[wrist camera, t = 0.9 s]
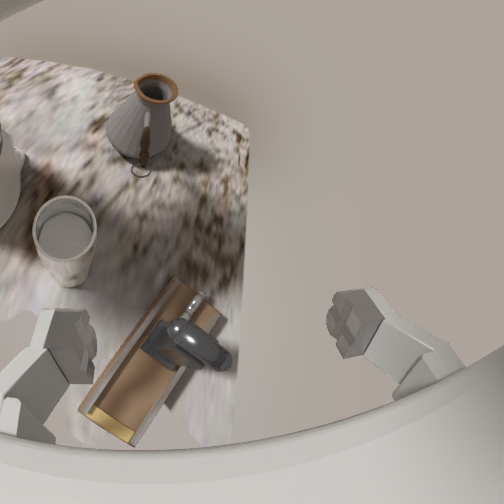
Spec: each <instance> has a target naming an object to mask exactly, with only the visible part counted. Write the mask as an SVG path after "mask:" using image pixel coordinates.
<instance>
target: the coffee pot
mask: <svg viewBox="0 0 504 504" xmlns="http://www.w3.org/2000/svg"><path fill="white" fill-rule="evenodd" d="M134 87H135V90H136V92H135V93H134V94H133V95H132V96H131V97H129V98H128V99H127V100H126V101H125V102H124V103H123V104H122V105H120V106H119V107H118V108H117V109H116V110H115V111H114V112H113V113H112V114H111V115H110V117H109V119H108V121H107V127H106V131H107V136H108V139H109V141H110V142H111V144H112V146H113V147H114V148H115V149H116V150H117V151H118V152H120V153H122V154H123V155H125V156H128V157H132V158H140V164H135V165H133V167H134V166H137V165H141V167H142V168H145V167H148V168H149V169H150V173H151V168H150V167H149V166H148V165H147V162H148V159H147V158H149V157H151V156H154V155H156V154H159V153H160V152H161V151H163V150H164V149H165V148H166V147H167V145H168V144H169V143H170V140H171V136H172V126H171V115H170V104H169V103H170V102H172V101H173V100H174V99H175V98H176V97H177V95H178V88H177V85H176V84H175V83H174V81H172V80H171V79H170V78H168V77H167V76H164V75H162V74H156V73H149V74H145V75H143V76H141V77H140V78H138V79H137V80H136V81H135V82H134ZM133 167H132V168H131V173H132V174H133V175H134V176H136V177H138V178H144V177H147V176H149V175H150V173H149V174H148V175H146V176H138V175H135V174H134V173H133V172H132V169H133Z"/></svg>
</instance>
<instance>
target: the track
mask: <svg viewBox="0 0 504 504" xmlns="http://www.w3.org/2000/svg"><path fill="white" fill-rule="evenodd" d="M195 294H196V293H195V292H194V291H193V290H191V289H190V288H189V287H188V286H187V285H185V284H184V283H183V282H182V281H181V280H180V279H178V278H177V277H176V276H173V277H172V278H171V279H170V281H169V282H168V283H167V285H166V286H165V287H164V289H163V290H162V291H161V292H160V294H159V295H158V296H157V298H156V299H155V300H154V302H153V303H152V304H151V306H150V307H149V308H148V310H147V311H146V312H145V314H144V315H143V316H142V318H141V319H140V321H139V322H138V323H137V325H136V326H135V327H134V329H133V330H132V331H131V333H130V334H129V336H128V337H127V338H126V340H125V341H124V343H123V344H122V345H121V347H120V348H119V349H118V351H117V352H116V354H115V355H114V357H113V358H112V359H111V361H110V362H109V364H108V365H107V366H106V368H105V369H104V371H103V372H102V374H101V375H100V377H99V378H98V379H97V381H96V382H95V384H94V385H93V387H92V388H91V390H90V391H89V393H88V394H87V396H86V397H85V399H84V400H83V402H82V403H81V405H80V406H79V408H78V412H80V413H81V414H83V415H84V416H85V417H87V418H88V419H90V420H91V421H93V422H94V423H95V424H97V425H98V426H100V427H101V428H103V429H105V430H106V431H108V432H109V433H111V434H112V435H114V436H116V437H118V438H119V439H121V440H122V441H124V442H126V443H127V444H129V445H131V446H132V447H135V446H136V444H137V443H138V441H139V440H140V438H141V437H142V435H143V434H144V432H145V431H146V429H147V428H148V426H149V424H150V423H151V422H152V420H153V419H154V417H155V416H156V414H157V412H158V411H159V409H160V408H161V406H162V405H163V403H164V402H165V400H166V399H167V397H168V396H169V394H170V393H171V391H172V390H173V388H174V387H175V385H176V383H177V382H178V380H179V379H180V377H181V376H182V374H183V373H184V371H185V370H186V368H187V367H185V366H180V365H175V367H174V368H173V370H172V371H170V370H168V369H167V368H165V367H164V366H163V365H161V364H160V363H158V362H157V361H156V360H154V359H153V358H152V357H150V356H149V355H148V354H146V353H145V352H144V351H142V350H141V349H140V347H141V346H142V344H143V343H144V341H145V340H146V339H147V337H148V336H149V334H150V333H151V332H152V330H153V329H154V327H155V326H156V325H157V323H158V322H159V320H160V319H163V320H164V321H166V322H167V323H168V324H169V322H170V321H171V320H173V319H174V318H179V316H180V315H181V313H182V312H183V311H184V309H186V307H187V305H188V303H189V302H190V301H191V299H192V298H193V296H194V295H195ZM220 316H221V313H219V312H218V311H217V310H216V309H214V308H213V307H212V306H211V305H209V304H208V303H207V302H206V301H205V300H203V301H202V302H201V304H200V305H199V307H198V308H197V310H196V311H195V312H194V313H193V315H192V317H191V318H190V320H189V322H191V321H193V322H194V323H195V324H196V325H198V326H199V327H200V328H202V329H203V330H204V331H205V332H207V333H208V334H209V333H210V331H211V329H212V328H213V326H214V325H215V323H216V322H217V320H218V319H219V317H220Z"/></svg>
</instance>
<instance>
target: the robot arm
mask: <svg viewBox="0 0 504 504" xmlns="http://www.w3.org/2000/svg"><path fill="white" fill-rule="evenodd" d="M42 1H44V0H0V21H2V20H4V19H6V18H8V17H10V16H12V15H14V14H16V13H18V12H20V11H22V10H25V9H27V8H29V7H31V6H33V5H35V4H37V3H39V2H42ZM24 162H25V155H24V152H23V151H22V150H20V149H19V148H18V147H16V146H15V145H14V144H13V140H12V137H11V134H10V133H9V132H8V133H7V132H5V131H4V130H3V129H2V128H1V124H0V228H1V227H2V226H3V225H4V224H5V223H6V222H7V221H8V219H9V218H10V216H11V215H12V213H13V211H14V210H15V207H16V205H17V202H18V199H19V195H20V189H21V179H20V174H21V170H22V167H23V165H24ZM332 301H333V303H334V305H333V306H332V307H331V308H330V309H329V311H328V314H327V318H326V321H327V328H328V331H329V333H330V335H331V336H333V337H334V338H336V339H337V342H336V346H337V348H338V350H339V352H340V353H341V355H342V357H343V359H345V358H350V357H354V356H359V355H363V356H364V357H365V358H367V359H368V360H369V361H370V362H372V363H373V364H374V365H376V366H377V367H378V368H380V369H381V370H382V371H383V372H384V373H386V374H387V375H388V376H390V377H391V378H392V379H394V380H395V381H396V382H397V383H399V384H400V385H399V386H398V387H397V389H396V390H395V391H394V392H393V395H392V396H393V398H394V400H395V401H394V402H391V403H389V404H386V405H383V406H381V407H378V408H376V409H373V410H370V411H367V412H364V413H361V414H358V415H355V416H352V417H349V418H346V419H343V420H339V421H336V422H333V423H329V424H326V425H322V426H318V427H315V428H311V429H307V430H303V431H299V432H294V433H290V434H286V435H281V436H276V437H271V438H266V439H261V440H255V441H249V442H242V443H236V444H229V445H221V446H212V447H202V448H191V449H175V450H135V451H134V450H107V449H92V448H81V447H71V446H63V445H56V444H55V441H56V438H55V436H54V435H53V434H52V433H51V432H50V431H49V430H48V429H47V428H46V427H45V426H44V425H43V424H44V423H45V421H46V420H47V418H48V417H49V415H50V413H51V412H52V410H53V409H54V407H55V406H56V404H57V403H58V402H59V400H60V399H61V397H62V396H63V394H64V393H65V391H66V390H67V388H68V387H69V386H70V385H69V384H93V378H94V369H95V367H94V364H93V362H92V360H93V359H94V357H95V356H96V352H97V339H96V334H95V331H94V328H93V327H92V326H91V325H89V319H90V317H89V315H88V312H87V310H85V309H60V308H57V309H50V308H44V309H43V310H42V311H41V313H40V316H39V319H38V322H37V325H36V328H35V331H34V334H33V337H32V340H31V343H30V347H25V348H24V350H22V351H21V352H20V353H19V354H18V355H17V356H16V357H15V358H14V359H13V360H12V361H11V362H10V363H9V364H8V365H7V366H6V367H5V368H4V369H3V370H2V371H1V372H0V504H504V345H503V346H501V347H500V348H498V349H497V350H495V351H493V352H492V353H490V354H488V355H487V356H485V357H483V358H482V359H480V360H478V361H477V362H475V363H473V364H471V365H470V366H468V367H465V366H464V364H463V363H462V362H461V360H460V359H459V357H458V356H457V355H456V353H455V352H454V351H453V349H452V348H451V346H450V345H449V344H448V343H447V342H445V341H443V340H441V339H440V338H438V337H436V336H434V335H433V334H431V333H429V332H427V331H426V330H424V329H422V328H420V327H418V326H417V325H415V324H413V323H411V322H410V321H408V320H406V319H404V318H402V317H401V316H399V317H397V316H396V315H395V313H394V312H393V311H392V309H391V308H390V307H389V305H388V304H387V303H386V301H385V300H384V299H383V297H382V296H381V295H380V293H379V292H378V291H377V289H375V288H373V287H370V288H363V289H356V290H349V291H341V292H337V293H336V294H335V295H334V297H333V300H332Z"/></svg>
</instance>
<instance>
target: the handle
mask: <svg viewBox="0 0 504 504" xmlns="http://www.w3.org/2000/svg"><path fill="white" fill-rule="evenodd" d="M204 298H205V293H204V292H203V291H197V292H196V294H195V295H194V296H193V298H192V299H191V301H190V302H189V303H188V305H187V307H186V309H184V311H183V312H182V313H181V315H180V316H179V318H174V319H173V320H171V321H170V322H169V324H168V323H167V322H166V321H164V320H163V319H160V320H159V322H158V323H157V325H156V326H155V327H154V329H153V330H152V332H151V333H150V334H149V336H148V337H147V339H146V340H145V341H144V343H143V344H142V346H141V347H140V349H141V350H142V351H144V352H145V353H146V354H148V355H149V356H150V357H152V358H153V359H154V360H156V361H157V362H158V363H160V364H161V365H163V366H164V367H165V368H167V369H168V370H170V371H172V370H173V368H174V367H175V365H180V366H185V367H190V368H195V369H200V370H201V369H202V368H203V366H204V364H206V365H207V366H208V367H210V368H211V369H213V370H214V371H217V372H223V371H226V370H228V369H229V368H230V366H231V364H232V356H231V354H230V353H229V352H228V351H227V350H226V349H224V348H223V347H222V346H220V345H219V344H218V342H219V341H217V340H216V339H215V338H213V337H212V336H211V335H209V334H208V333H207V332H205V331H204V330H203V329H202V328H200V327H199V326H198V325H196V324H195V323H194V322H193V321H191V322H189V320H190V318H191V317H192V315H193V313H194V312H195V311H196V310H197V308H198V307H199V305H200V304H201V302H202V301H203V299H204Z"/></svg>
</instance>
